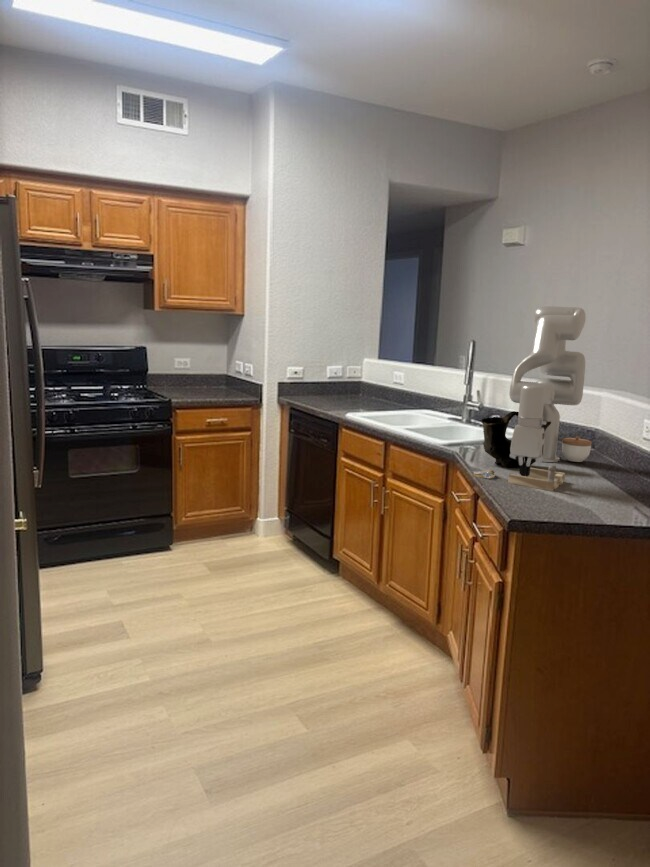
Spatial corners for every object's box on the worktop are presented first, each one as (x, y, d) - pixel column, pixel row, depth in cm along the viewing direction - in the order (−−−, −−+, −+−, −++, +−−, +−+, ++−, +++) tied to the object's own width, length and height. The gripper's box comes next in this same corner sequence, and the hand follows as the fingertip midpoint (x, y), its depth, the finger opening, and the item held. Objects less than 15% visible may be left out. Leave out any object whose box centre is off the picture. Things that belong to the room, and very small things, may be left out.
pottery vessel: (540, 463, 243) (545, 410, 240) (550, 470, 233) (556, 415, 229) (474, 460, 243) (478, 408, 239) (481, 467, 232) (486, 412, 228)
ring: (471, 476, 223) (476, 478, 215) (471, 467, 222) (477, 469, 214) (491, 478, 223) (497, 480, 215) (492, 468, 222) (498, 470, 214)
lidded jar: (592, 464, 245) (595, 440, 243) (562, 461, 247) (565, 437, 245) (586, 458, 255) (589, 435, 254) (558, 456, 257) (560, 432, 256)
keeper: (522, 474, 224) (524, 452, 222) (564, 481, 216) (566, 458, 215) (506, 485, 209) (508, 460, 207) (550, 493, 201) (553, 468, 200)
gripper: (556, 424, 211) (550, 478, 214) (510, 418, 219) (505, 471, 222) (550, 426, 205) (544, 483, 208) (503, 421, 213) (498, 475, 216)
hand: (524, 476), depth 215 cm, fingers closed
